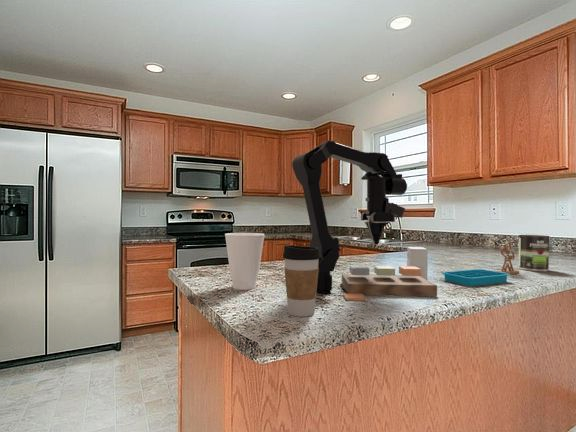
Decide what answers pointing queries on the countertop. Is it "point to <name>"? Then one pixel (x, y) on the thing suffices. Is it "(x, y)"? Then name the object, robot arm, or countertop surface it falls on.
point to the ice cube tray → (475, 277)
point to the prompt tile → (354, 297)
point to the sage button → (384, 270)
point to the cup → (244, 258)
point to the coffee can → (534, 252)
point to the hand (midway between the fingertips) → (376, 244)
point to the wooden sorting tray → (388, 285)
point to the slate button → (359, 270)
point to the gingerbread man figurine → (504, 249)
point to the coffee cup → (301, 279)
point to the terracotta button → (409, 271)
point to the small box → (418, 259)
